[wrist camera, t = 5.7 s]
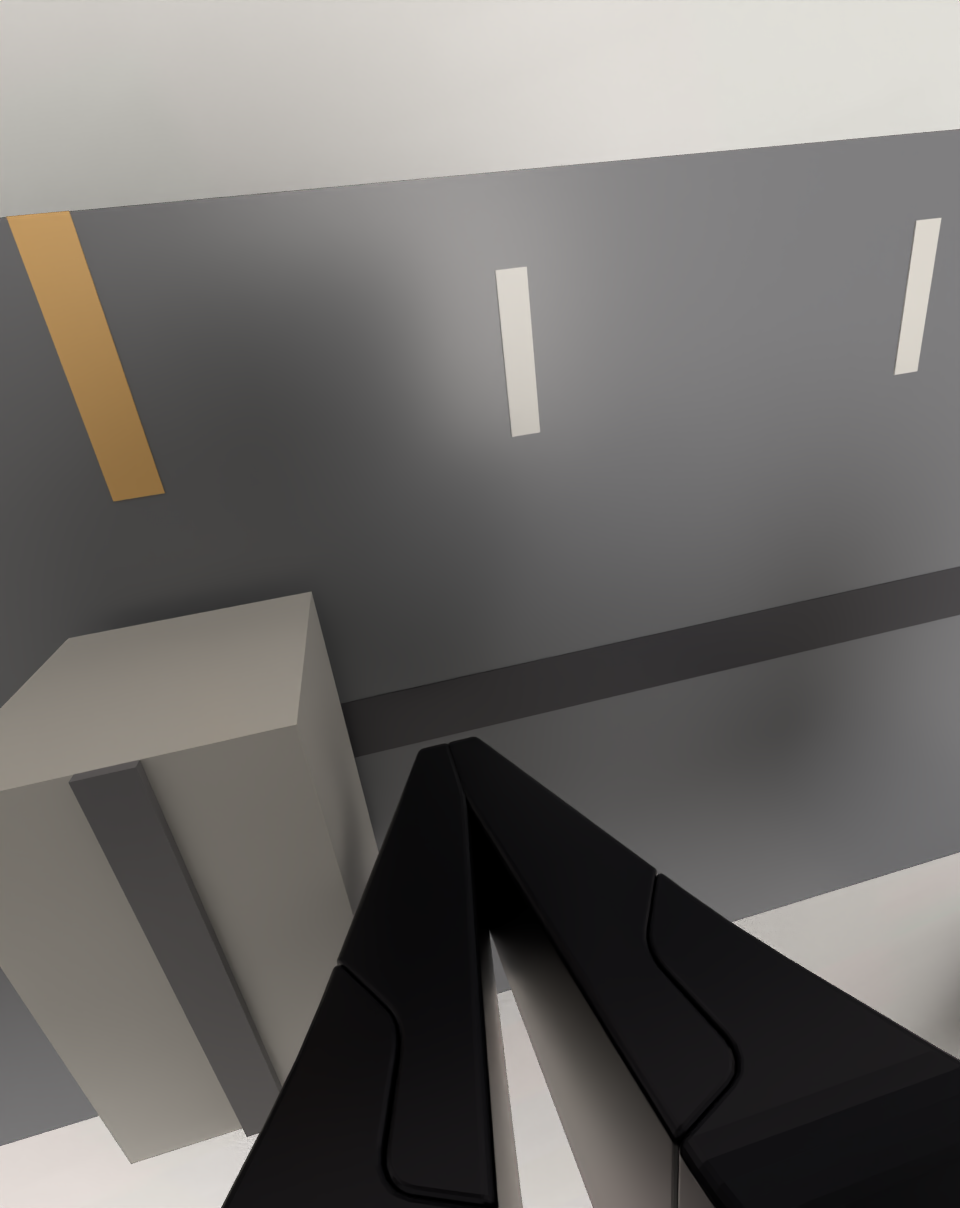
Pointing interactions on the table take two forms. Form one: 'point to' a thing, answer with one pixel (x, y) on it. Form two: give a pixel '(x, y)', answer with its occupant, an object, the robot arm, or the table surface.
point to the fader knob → (180, 862)
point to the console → (530, 488)
